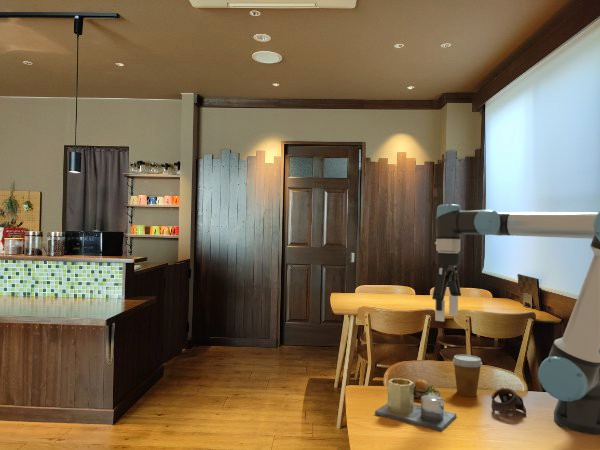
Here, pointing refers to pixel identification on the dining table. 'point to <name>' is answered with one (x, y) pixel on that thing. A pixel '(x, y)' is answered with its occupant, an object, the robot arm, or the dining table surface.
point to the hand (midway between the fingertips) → (446, 318)
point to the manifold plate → (417, 417)
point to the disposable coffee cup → (467, 374)
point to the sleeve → (400, 395)
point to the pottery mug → (507, 401)
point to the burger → (423, 390)
